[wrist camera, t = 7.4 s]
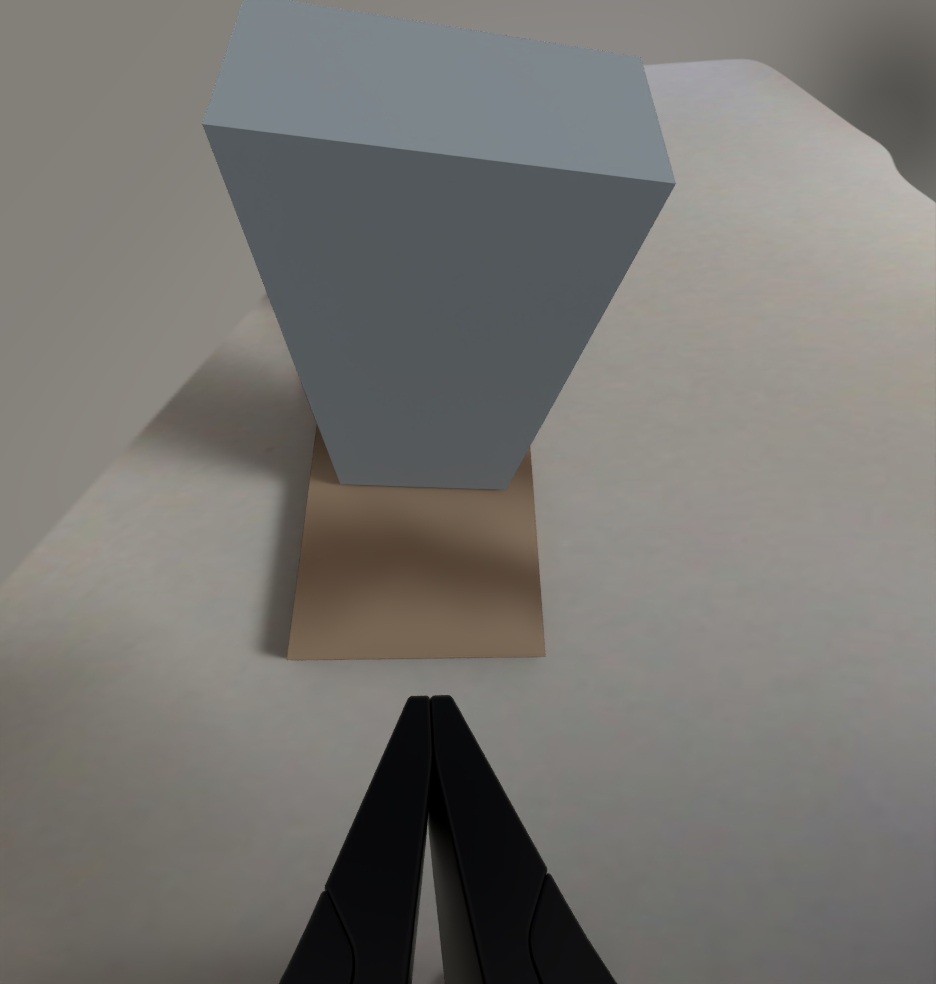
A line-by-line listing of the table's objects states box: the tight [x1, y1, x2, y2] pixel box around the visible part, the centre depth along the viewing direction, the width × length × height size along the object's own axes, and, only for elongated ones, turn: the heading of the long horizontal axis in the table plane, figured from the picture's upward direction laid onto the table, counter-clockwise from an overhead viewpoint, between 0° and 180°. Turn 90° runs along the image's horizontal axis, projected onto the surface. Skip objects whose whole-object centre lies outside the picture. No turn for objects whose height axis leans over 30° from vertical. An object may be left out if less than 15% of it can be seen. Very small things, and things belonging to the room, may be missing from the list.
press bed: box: [287, 424, 546, 660], centre depth 20 cm, size 20×11×7 cm, turn 1°
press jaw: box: [202, 0, 676, 490], centre depth 15 cm, size 4×8×15 cm, turn 91°
